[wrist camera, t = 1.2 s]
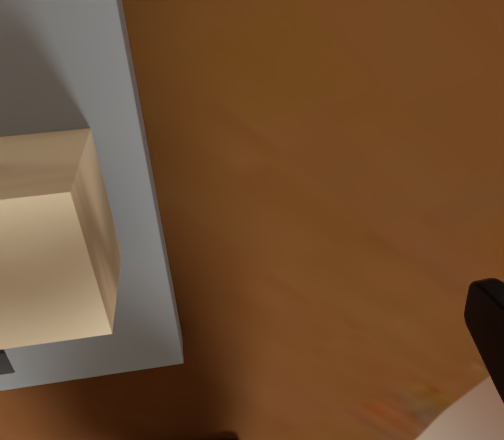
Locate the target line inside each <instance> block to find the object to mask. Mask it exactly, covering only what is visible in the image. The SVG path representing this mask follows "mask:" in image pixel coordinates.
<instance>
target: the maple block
mask: <svg viewBox="0 0 504 440" xmlns="http://www.w3.org/2000/svg"><path fill="white" fill-rule="evenodd" d="M121 255H122V253H121V249H120V245H119V241H118V237H117V233H116V229H115V225H114V221H113V217H112V213H111V209H110V204H109V200H108V196H107V192H106V188H105V184H104V180H103V176H102V172H101V168H100V164H99V160H98V156H97V152H96V148H95V144H94V140H93V136H92V132H91V128H87V129H77V130H67V131H56V132H46V133H36V134H26V135H16V136H5V137H0V350H2V349H9V348H16V347H23V346H30V345H37V344H44V343H51V342H59V341H66V340H73V339H80V338H87V337H94V336H101V335H108V334H112V331H113V323H114V314H115V306H116V298H117V289H118V281H119V272H120V264H121Z"/></svg>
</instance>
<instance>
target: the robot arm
mask: <svg viewBox="0 0 504 440" xmlns="http://www.w3.org/2000/svg"><path fill="white" fill-rule="evenodd" d="M464 318H465V322H466V325H467V328H468V330H469V332H470V334H471V336H472V338H473V340H474V342H475V345H476V347H477V349H478V351H479V353H480V355H481V357H482V359H483V361H484V364H485V366H486V368H487V370H488V372H489V374H490V376H491V378H492V380H493V383H494V385H495V387H496V389H497V391H498V393H499V395H500V397H501V399H502V401H503V403H504V282H502V281H500V280H498V279H495V278H488V279H483V280H478V281H474V282H472V283H471V284H470V286H469V289H468V295H467V300H466V305H465V311H464Z"/></svg>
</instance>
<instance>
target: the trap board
mask: <svg viewBox="0 0 504 440" xmlns="http://www.w3.org/2000/svg"><path fill="white" fill-rule="evenodd" d="M87 128H91V132H92V136H93V140H94V144H95V148H96V152H97V156H98V160H99V164H100V168H101V172H102V176H103V180H104V184H105V188H106V192H107V196H108V200H109V204H110V209H111V213H112V217H113V221H114V225H115V229H116V233H117V237H118V241H119V245H120V249H121V253H122V255H121V264H120V272H119V281H118V289H117V298H116V306H115V314H114V323H113V331H112V334H108V335H101V336H94V337H87V338H80V339H73V340H66V341H59V342H51V343H44V344H37V345H30V346H23V347H16V348H9V349H2V350H0V391H3V390H9V389H16V388H23V387H29V386H36V385H43V384H49V383H56V382H63V381H69V380H76V379H83V378H89V377H96V376H103V375H109V374H116V373H123V372H129V371H136V370H143V369H150V368H156V367H163V366H170V365H176V364H183V363H184V362H183V339H182V333H181V327H180V322H179V316H178V311H177V305H176V299H175V294H174V288H173V283H172V277H171V272H170V266H169V260H168V255H167V249H166V244H165V238H164V233H163V227H162V221H161V216H160V210H159V205H158V199H157V193H156V188H155V182H154V177H153V171H152V166H151V160H150V154H149V149H148V143H147V138H146V132H145V126H144V121H143V115H142V110H141V104H140V99H139V93H138V87H137V82H136V76H135V71H134V65H133V60H132V54H131V48H130V43H129V37H128V32H127V26H126V20H125V15H124V9H123V4H122V0H0V137H5V136H16V135H26V134H36V133H46V132H56V131H67V130H77V129H87Z"/></svg>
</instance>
